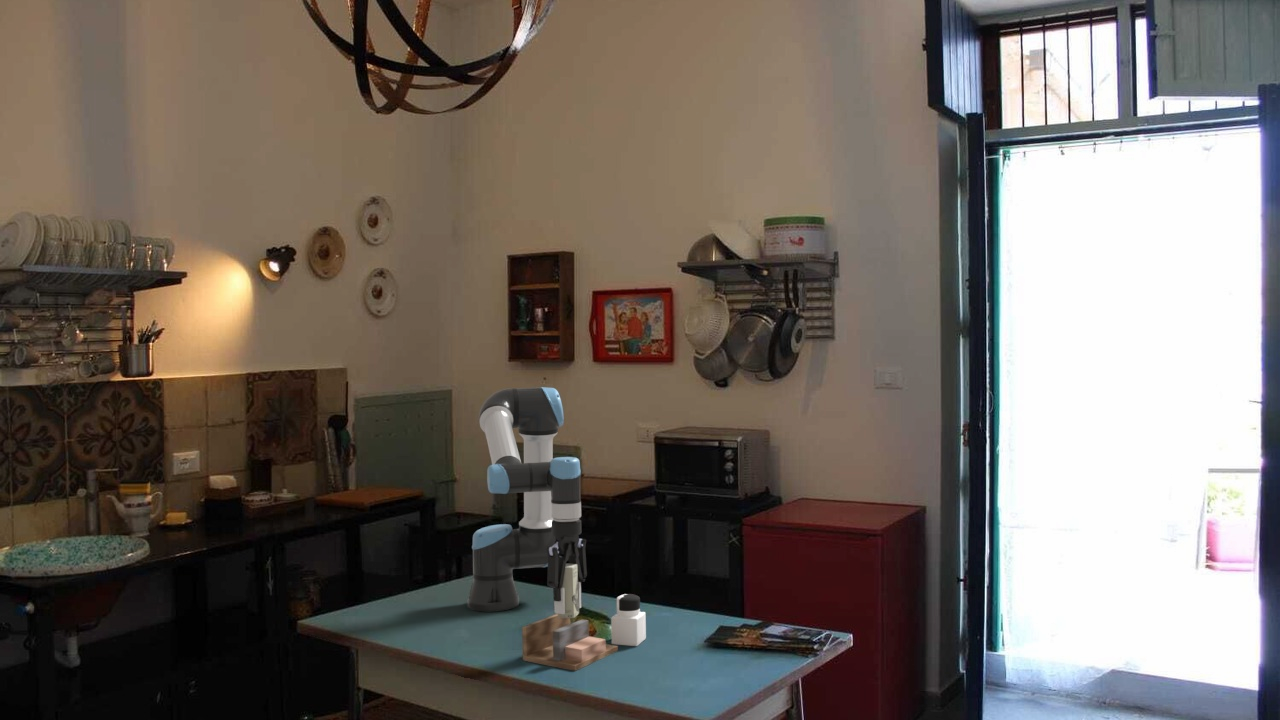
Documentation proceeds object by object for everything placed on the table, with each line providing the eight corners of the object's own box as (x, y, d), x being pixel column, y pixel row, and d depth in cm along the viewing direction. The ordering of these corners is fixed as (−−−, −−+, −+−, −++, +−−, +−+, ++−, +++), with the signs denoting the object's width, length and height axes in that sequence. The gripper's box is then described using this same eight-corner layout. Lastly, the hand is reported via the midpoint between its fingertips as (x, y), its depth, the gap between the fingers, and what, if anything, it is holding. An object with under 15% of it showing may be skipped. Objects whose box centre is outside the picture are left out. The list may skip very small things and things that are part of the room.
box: (574, 619, 256) (572, 567, 255) (557, 618, 256) (555, 567, 256) (579, 613, 261) (578, 563, 260) (563, 612, 262) (561, 562, 261)
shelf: (567, 641, 267) (566, 610, 266) (617, 650, 258) (617, 618, 258) (522, 660, 252) (522, 627, 251) (575, 670, 243) (574, 636, 243)
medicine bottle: (646, 638, 268) (645, 593, 268) (637, 646, 261) (636, 600, 261) (620, 636, 270) (620, 591, 270) (611, 644, 264) (610, 598, 263)
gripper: (576, 512, 268) (578, 600, 269) (530, 523, 252) (532, 617, 253) (600, 514, 264) (602, 603, 264) (554, 526, 248) (556, 621, 248)
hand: (568, 610), depth 258 cm, fingers closed on box, 6 cm apart
